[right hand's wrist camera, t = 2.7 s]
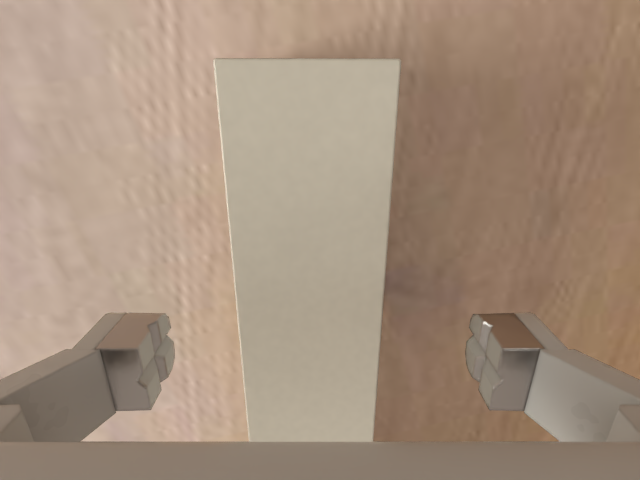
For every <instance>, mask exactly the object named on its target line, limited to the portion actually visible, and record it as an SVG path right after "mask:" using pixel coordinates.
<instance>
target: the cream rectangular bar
mask: <svg viewBox="0 0 640 480" xmlns="http://www.w3.org/2000/svg"><path fill="white" fill-rule="evenodd" d="M213 62H214V73H215V83H216V94H217V105H218V115H219V126H220V137H221V147H222V158H223V169H224V179H225V190H226V201H227V211H228V222H229V232H230V243H231V254H232V264H233V275H234V286H235V296H236V307H237V318H238V328H239V339H240V350H241V360H242V371H243V382H244V392H245V403H246V414H247V424H248V435H249V442H373V438H374V424H375V411H376V397H377V384H378V370H379V356H380V343H381V329H382V316H383V302H384V289H385V275H386V261H387V248H388V234H389V221H390V207H391V193H392V180H393V166H394V153H395V139H396V125H397V112H398V98H399V85H400V71H401V59H387V58H215V59H214V61H213Z"/></svg>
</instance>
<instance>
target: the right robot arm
mask: <svg viewBox="0 0 640 480" xmlns="http://www.w3.org/2000/svg"><path fill="white" fill-rule="evenodd" d="M170 328H171V325H170V321H169V317H168V316H167V315H166V314H164V313H108V314H105V315H104V316H103V317H102V318H101V319H100V320H99V321H98V322H97V324H96V325H95V326H94V327H93V328H92V329H91V330H90V331H89V332H88V333H87V334H86V335H85V336H84V337H83V338H82V339H81V340H80V341H79V342H78V343H77V344H76V345H75V347H74V348H73V349H71V350H63V351H61V352H59V353H57V354H55V355H53V356H50V357H48V358H46V359H44V360H42V361H40V362H38V363H35V364H33V365H31V366H29V367H27V368H25V369H22V370H20V371H18V372H16V373H14V374H12V375H10V376H7V377H5V378H3V379H1V380H0V480H640V380H639V379H637V378H635V377H632V376H630V375H628V374H626V373H624V372H622V371H620V370H617V369H615V368H613V367H611V366H609V365H607V364H605V363H602V362H600V361H598V360H596V359H594V358H592V357H590V356H587V355H585V354H583V353H581V352H579V351H577V350H569V349H567V348H566V347H565V345H564V344H563V343H562V342H561V341H560V340H559V339H558V338H557V337H556V336H555V335H554V334H553V333H552V332H551V331H550V330H549V329H548V328H547V327H546V326H545V324H544V323H543V322H542V321H541V320H540V319H539V318H538V317H537V316H536V315H535V314H533V313H530V312H527V313H501V314H473V315H472V317H471V320H470V325H469V328H470V330H471V332H472V333H473V336H472V337H471V338H470V339H469V340H468V341H467V343H466V350H465V355H466V364H467V367H468V370H469V372H470V374H471V376H472V378H474V379H475V380H477V381H478V382H480V385H479V392H480V394H481V395H482V397H483V399H484V401H485V403H486V405H487V407H488V409H489V410H506V411H524V413H525V414H526V415H528V416H529V417H530V418H531V419H533V420H534V421H535V422H536V423H538V424H539V425H540V426H541V427H543V428H544V429H545V430H546V431H548V432H549V433H550V434H551V435H553V436H554V437H555V438H556V439H557V440H559V441H560V442H80V441H81V440H83V439H84V438H85V437H86V436H88V435H89V434H90V433H91V432H93V431H94V430H95V429H96V428H98V427H99V426H100V425H101V424H103V423H104V422H105V421H106V420H108V419H109V418H110V417H111V416H112V415H114V414H115V413H116V411H134V410H151V409H152V407H153V405H154V403H155V401H156V399H157V397H158V395H159V394H160V392H161V385H160V382H162V381H163V380H165V379H166V378H168V376H169V374H170V372H171V370H172V367H173V363H174V358H175V349H174V342H173V341H172V340H171V339H170V338H169V337H168V336H167V333H168V332H169V330H170Z"/></svg>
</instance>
